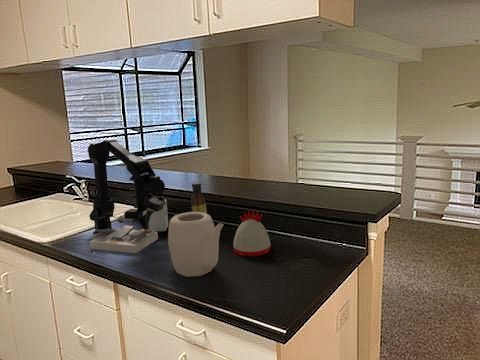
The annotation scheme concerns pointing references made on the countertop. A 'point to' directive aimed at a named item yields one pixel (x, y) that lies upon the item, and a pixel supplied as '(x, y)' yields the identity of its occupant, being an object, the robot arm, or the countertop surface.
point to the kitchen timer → (251, 237)
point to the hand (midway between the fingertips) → (145, 229)
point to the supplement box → (159, 219)
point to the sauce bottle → (198, 199)
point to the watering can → (193, 243)
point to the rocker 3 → (140, 233)
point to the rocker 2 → (123, 232)
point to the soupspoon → (124, 219)
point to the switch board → (121, 242)
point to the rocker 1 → (106, 231)
